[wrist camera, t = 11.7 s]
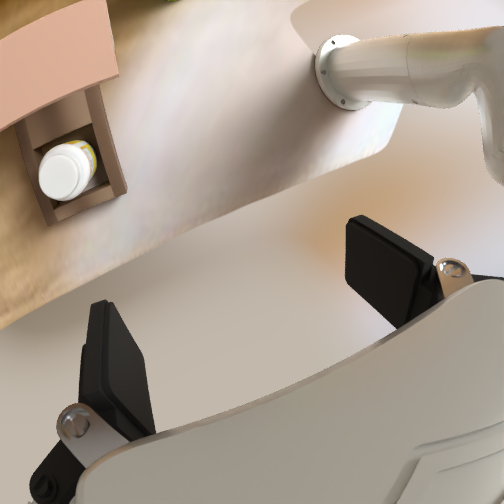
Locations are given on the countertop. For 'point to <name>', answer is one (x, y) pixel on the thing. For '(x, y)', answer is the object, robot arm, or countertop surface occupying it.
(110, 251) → the countertop surface
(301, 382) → the robot arm
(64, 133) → the socket block
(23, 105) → the pink-topped white panel
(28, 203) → the countertop surface
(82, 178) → the supplement bottle
